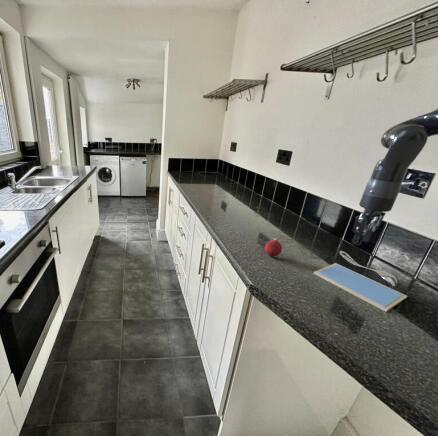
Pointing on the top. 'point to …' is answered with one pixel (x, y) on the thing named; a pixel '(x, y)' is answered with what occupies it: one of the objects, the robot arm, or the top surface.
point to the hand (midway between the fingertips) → (360, 242)
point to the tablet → (361, 286)
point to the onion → (273, 248)
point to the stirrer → (387, 276)
